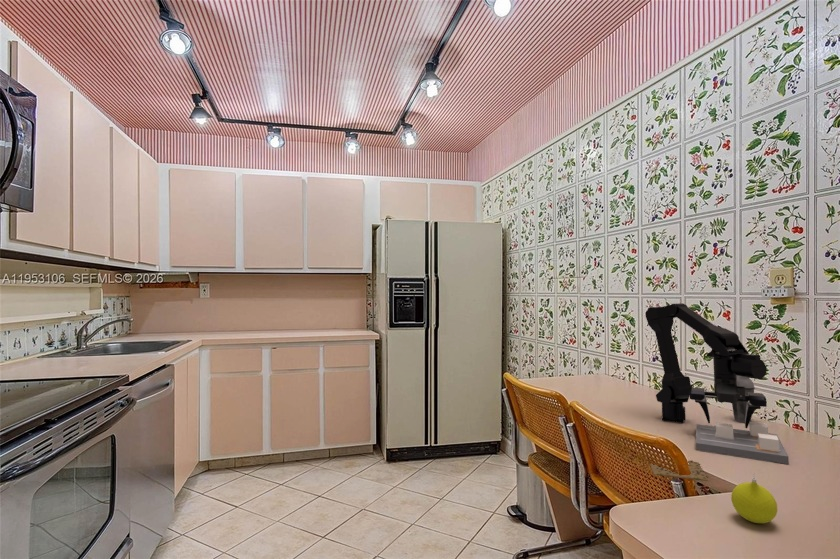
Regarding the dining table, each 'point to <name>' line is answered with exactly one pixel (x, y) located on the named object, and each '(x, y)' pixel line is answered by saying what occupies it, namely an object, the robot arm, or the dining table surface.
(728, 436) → the slider middle
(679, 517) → the dining table surface
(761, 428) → the slider far
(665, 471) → the speckled tan slab
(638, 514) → the dining table surface
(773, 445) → the slider near
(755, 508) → the ornament
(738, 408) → the beverage cup
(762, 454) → the switch panel
